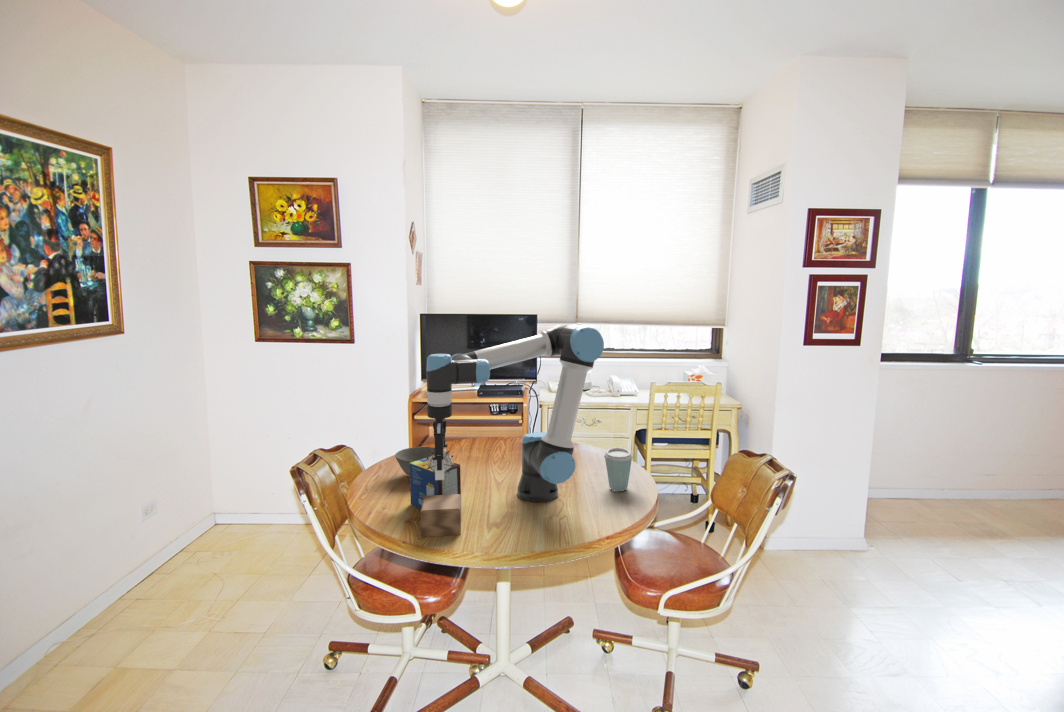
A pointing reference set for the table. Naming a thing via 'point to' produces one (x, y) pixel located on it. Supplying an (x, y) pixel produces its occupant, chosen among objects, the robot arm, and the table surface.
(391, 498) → the table surface
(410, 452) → the bowl
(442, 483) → the protein box
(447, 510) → the walnut block
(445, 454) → the game die
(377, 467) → the table surface
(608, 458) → the disposable coffee cup
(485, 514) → the table surface
